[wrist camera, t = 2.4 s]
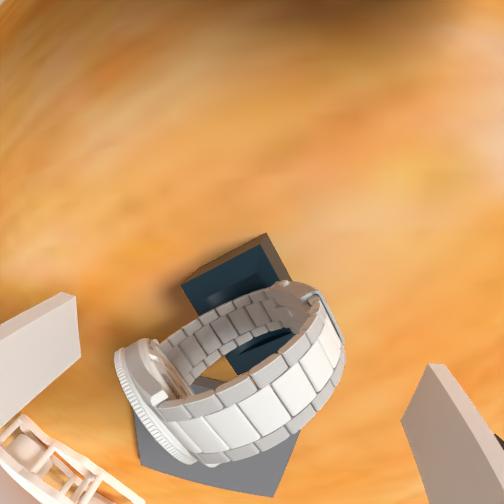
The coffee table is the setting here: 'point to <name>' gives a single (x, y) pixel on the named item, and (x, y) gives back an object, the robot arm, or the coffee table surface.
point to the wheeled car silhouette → (41, 460)
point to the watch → (237, 360)
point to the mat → (225, 474)
